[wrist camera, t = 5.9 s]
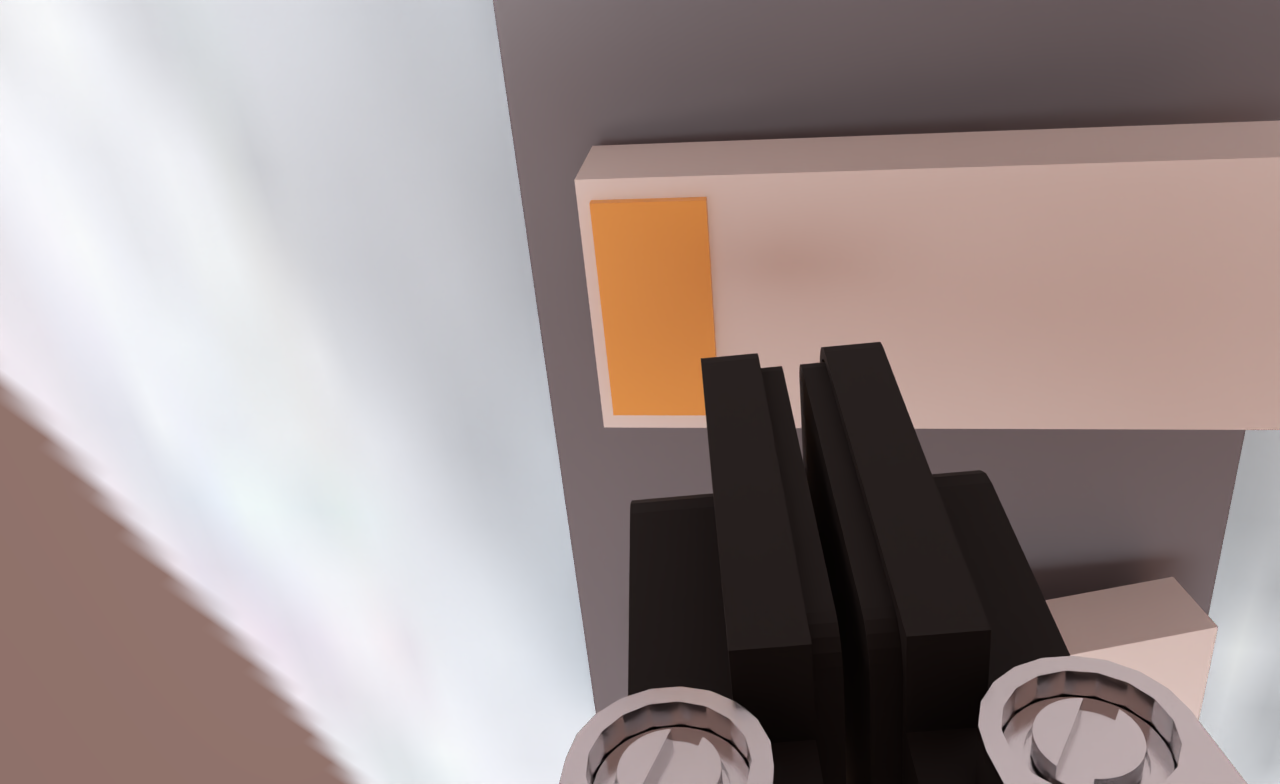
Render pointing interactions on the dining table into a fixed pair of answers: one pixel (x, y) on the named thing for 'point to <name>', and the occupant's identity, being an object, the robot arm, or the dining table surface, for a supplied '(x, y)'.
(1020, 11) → the grey switch panel
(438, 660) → the dining table surface
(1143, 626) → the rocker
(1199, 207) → the rocker middle
